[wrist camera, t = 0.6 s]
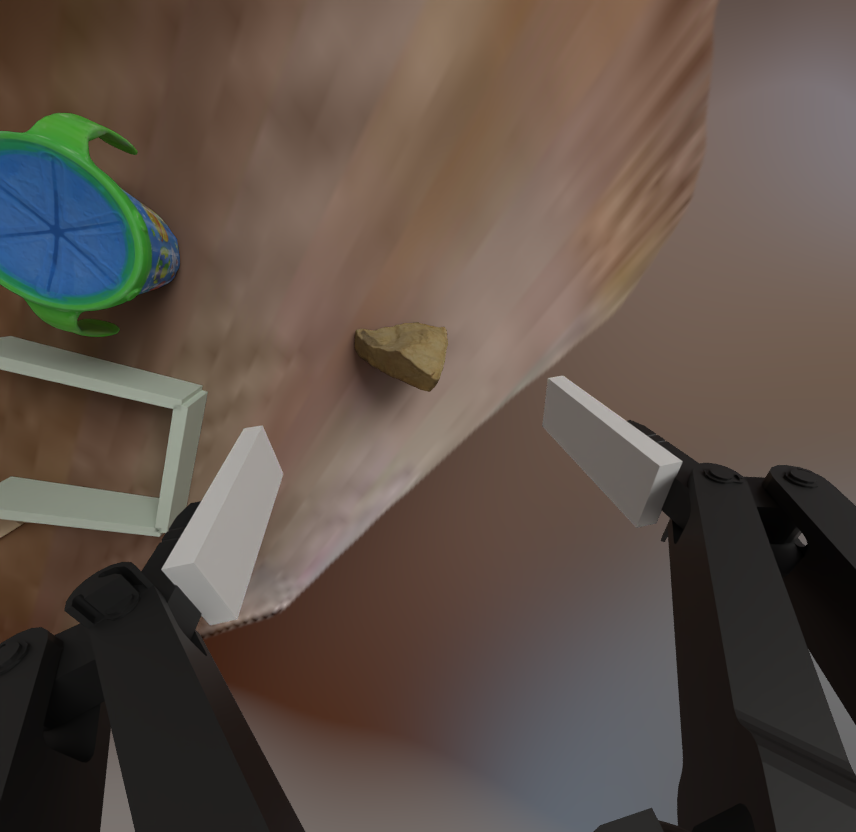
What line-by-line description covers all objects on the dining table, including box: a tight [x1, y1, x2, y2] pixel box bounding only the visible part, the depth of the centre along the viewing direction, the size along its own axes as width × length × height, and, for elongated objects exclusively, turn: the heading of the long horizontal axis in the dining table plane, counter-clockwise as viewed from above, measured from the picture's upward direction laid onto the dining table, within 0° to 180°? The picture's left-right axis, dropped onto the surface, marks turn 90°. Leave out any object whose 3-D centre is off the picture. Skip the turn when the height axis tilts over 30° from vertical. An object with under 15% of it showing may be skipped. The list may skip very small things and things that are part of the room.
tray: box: [0, 336, 208, 537], centre depth 34 cm, size 17×17×5 cm
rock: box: [355, 322, 448, 392], centre depth 36 cm, size 11×9×10 cm
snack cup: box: [0, 113, 180, 337], centre depth 26 cm, size 16×10×10 cm
